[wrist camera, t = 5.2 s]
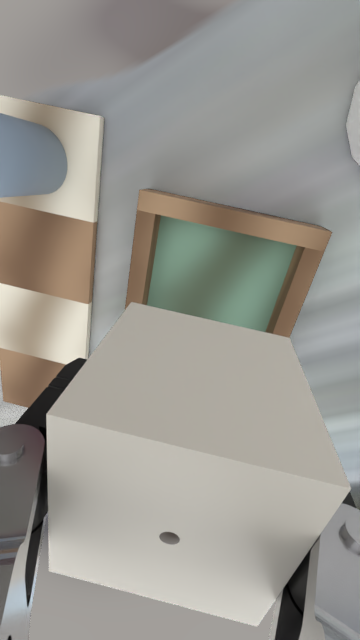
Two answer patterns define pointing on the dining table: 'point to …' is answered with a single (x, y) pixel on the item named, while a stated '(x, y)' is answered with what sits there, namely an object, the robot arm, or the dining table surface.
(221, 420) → the die
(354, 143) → the white cup
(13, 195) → the pale blue capsule
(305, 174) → the dining table surface
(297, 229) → the tray
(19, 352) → the board
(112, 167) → the dining table surface
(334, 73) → the dining table surface
